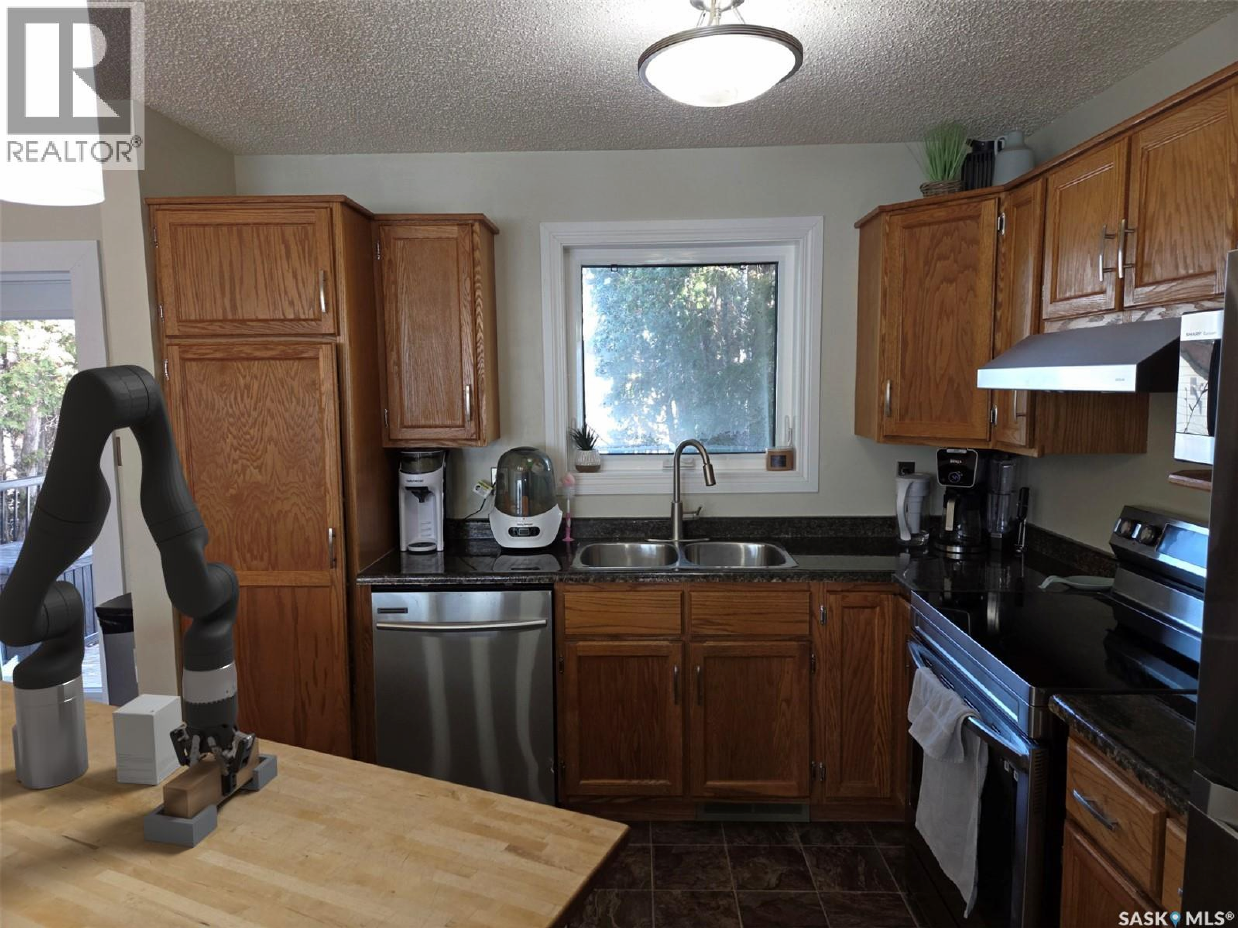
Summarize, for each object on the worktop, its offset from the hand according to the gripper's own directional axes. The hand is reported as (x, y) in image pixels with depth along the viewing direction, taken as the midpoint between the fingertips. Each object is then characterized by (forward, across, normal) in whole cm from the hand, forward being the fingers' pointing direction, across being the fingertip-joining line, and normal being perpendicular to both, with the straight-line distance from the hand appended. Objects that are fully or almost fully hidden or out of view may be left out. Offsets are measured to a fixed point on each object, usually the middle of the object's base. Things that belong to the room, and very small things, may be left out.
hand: (215, 791), depth 121 cm
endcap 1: (+2, 0, -8) cm, 8 cm away
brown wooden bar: (+1, 0, 0) cm, 1 cm away
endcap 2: (+2, 0, +8) cm, 8 cm away
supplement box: (+3, -17, +6) cm, 18 cm away
